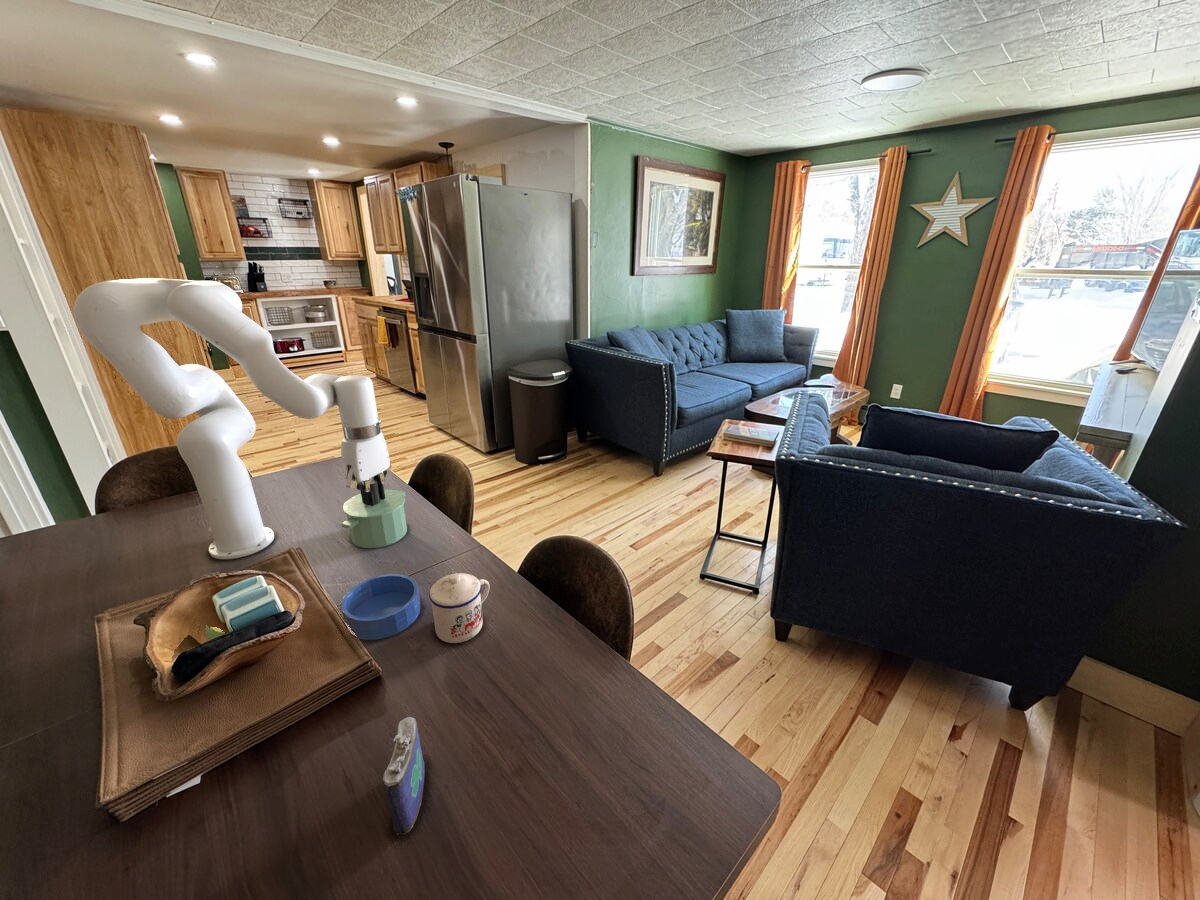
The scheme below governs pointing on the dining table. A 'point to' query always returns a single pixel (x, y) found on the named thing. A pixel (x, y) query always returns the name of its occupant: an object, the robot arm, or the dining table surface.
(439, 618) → the teacup with lid
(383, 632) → the bowl
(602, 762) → the dining table surface
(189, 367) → the robot arm
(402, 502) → the lid
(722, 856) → the dining table surface
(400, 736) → the flask
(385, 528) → the pot
